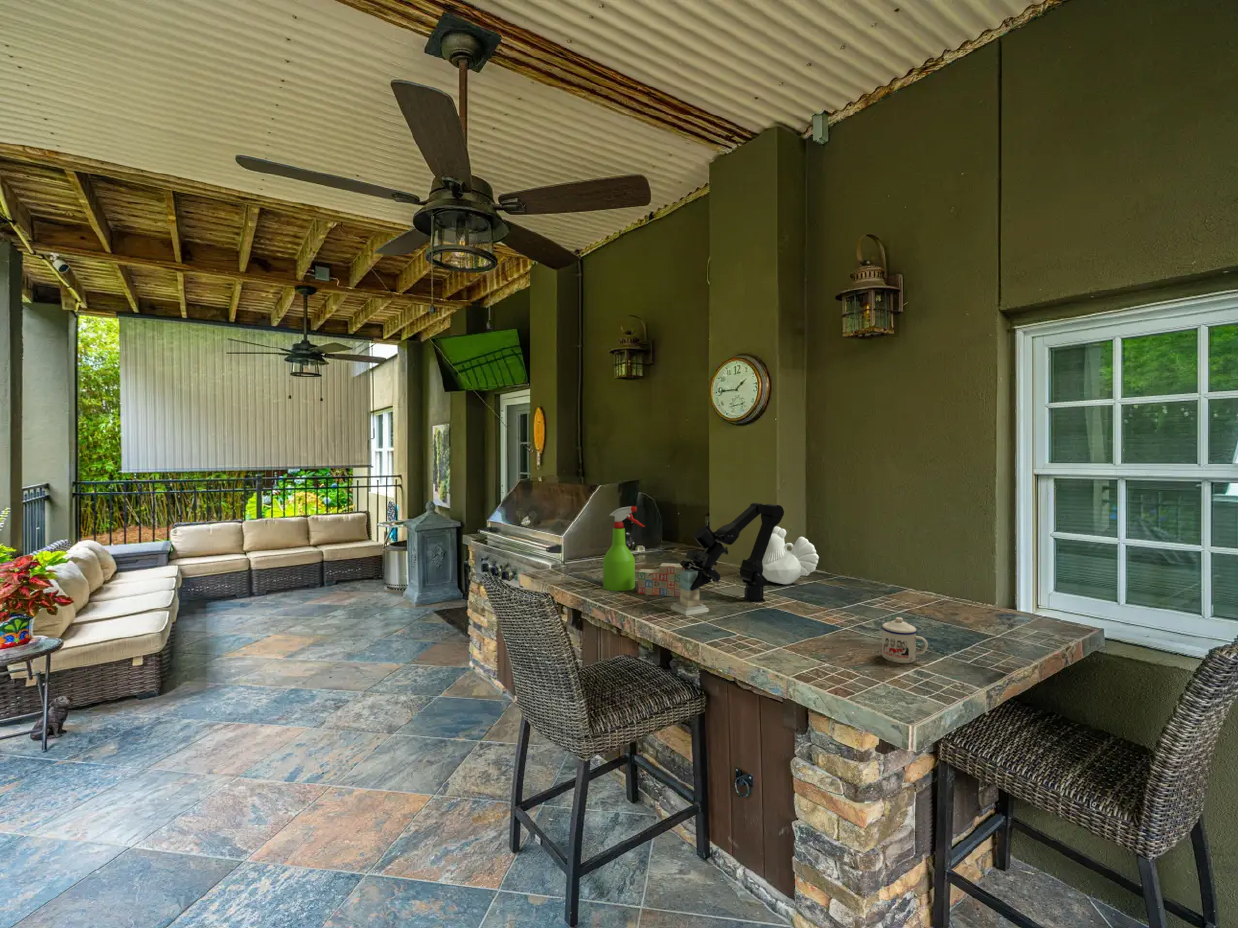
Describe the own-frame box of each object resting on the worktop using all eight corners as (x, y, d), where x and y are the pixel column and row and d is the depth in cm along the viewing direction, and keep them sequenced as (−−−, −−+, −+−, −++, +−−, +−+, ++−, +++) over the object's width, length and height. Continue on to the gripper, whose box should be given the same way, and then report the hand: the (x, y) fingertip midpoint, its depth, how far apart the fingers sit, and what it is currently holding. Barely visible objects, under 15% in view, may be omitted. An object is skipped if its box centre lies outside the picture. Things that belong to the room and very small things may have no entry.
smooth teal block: (691, 603, 225) (691, 569, 225) (699, 606, 221) (699, 571, 220) (680, 605, 223) (680, 570, 222) (687, 608, 219) (687, 573, 218)
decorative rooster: (752, 582, 266) (753, 526, 266) (772, 576, 277) (772, 523, 277) (804, 592, 249) (805, 532, 248) (822, 586, 260) (823, 528, 259)
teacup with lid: (877, 659, 171) (878, 618, 171) (885, 650, 179) (886, 611, 178) (923, 668, 164) (924, 626, 164) (930, 659, 171) (931, 618, 171)
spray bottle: (641, 592, 249) (641, 508, 247) (599, 590, 253) (599, 507, 252) (647, 584, 262) (647, 504, 261) (607, 582, 266) (607, 503, 265)
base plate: (692, 605, 229) (692, 599, 229) (708, 611, 220) (708, 605, 220) (670, 608, 224) (670, 602, 224) (686, 615, 215) (686, 609, 215)
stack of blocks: (637, 594, 246) (637, 564, 246) (640, 590, 252) (640, 561, 252) (689, 597, 241) (689, 567, 240) (691, 593, 247) (691, 564, 246)
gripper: (684, 538, 231) (659, 570, 226) (713, 545, 215) (688, 579, 210) (700, 556, 235) (677, 588, 230) (731, 565, 219) (706, 599, 214)
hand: (686, 588), depth 221 cm, fingers closed on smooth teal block, 5 cm apart
